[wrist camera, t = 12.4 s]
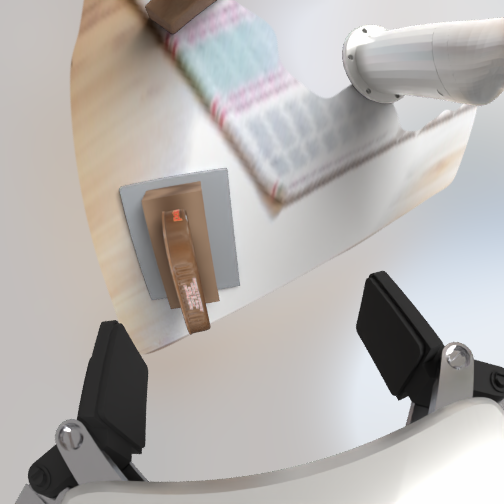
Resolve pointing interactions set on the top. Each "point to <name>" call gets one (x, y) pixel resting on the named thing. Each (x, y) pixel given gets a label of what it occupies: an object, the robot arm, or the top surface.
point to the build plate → (216, 219)
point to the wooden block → (175, 12)
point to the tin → (185, 269)
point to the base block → (193, 203)
